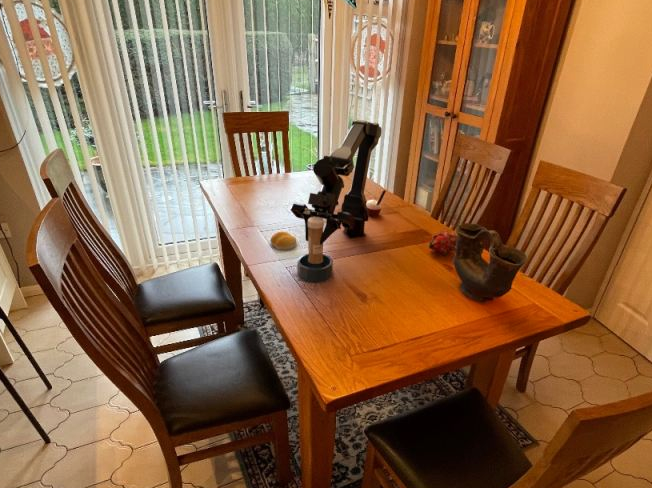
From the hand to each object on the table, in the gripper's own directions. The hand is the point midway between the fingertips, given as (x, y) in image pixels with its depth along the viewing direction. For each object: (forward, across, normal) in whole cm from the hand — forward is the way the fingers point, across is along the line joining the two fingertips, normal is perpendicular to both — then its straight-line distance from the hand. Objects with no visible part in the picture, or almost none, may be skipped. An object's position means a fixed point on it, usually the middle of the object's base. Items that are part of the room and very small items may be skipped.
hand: (313, 242), depth 123 cm
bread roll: (-2, -19, +19) cm, 26 cm away
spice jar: (+4, 0, +6) cm, 7 cm away
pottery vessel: (-1, +47, +17) cm, 50 cm away
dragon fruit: (-15, +32, +32) cm, 48 cm away
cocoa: (-30, 0, +47) cm, 56 cm away
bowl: (+7, 0, +9) cm, 11 cm away
